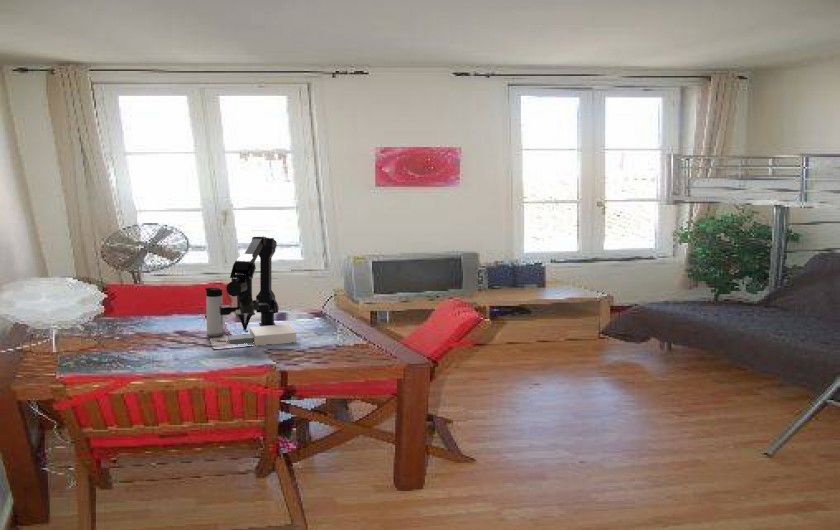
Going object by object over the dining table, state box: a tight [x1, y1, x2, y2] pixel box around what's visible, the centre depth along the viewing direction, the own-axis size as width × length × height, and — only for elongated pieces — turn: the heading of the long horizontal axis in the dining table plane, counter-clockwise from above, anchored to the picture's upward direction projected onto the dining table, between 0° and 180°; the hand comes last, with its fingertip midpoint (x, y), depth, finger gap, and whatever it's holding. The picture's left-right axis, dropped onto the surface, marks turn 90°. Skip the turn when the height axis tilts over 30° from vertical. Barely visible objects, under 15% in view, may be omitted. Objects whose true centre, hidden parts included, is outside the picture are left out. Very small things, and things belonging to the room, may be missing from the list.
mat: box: [209, 336, 255, 347], centre depth 208 cm, size 15×15×1 cm
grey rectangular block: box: [227, 333, 254, 344], centre depth 209 cm, size 9×6×2 cm, turn 115°
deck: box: [249, 323, 297, 346], centre depth 215 cm, size 14×16×4 cm
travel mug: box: [205, 287, 224, 337], centre depth 217 cm, size 6×7×20 cm
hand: (244, 329), depth 210 cm, fingers closed
